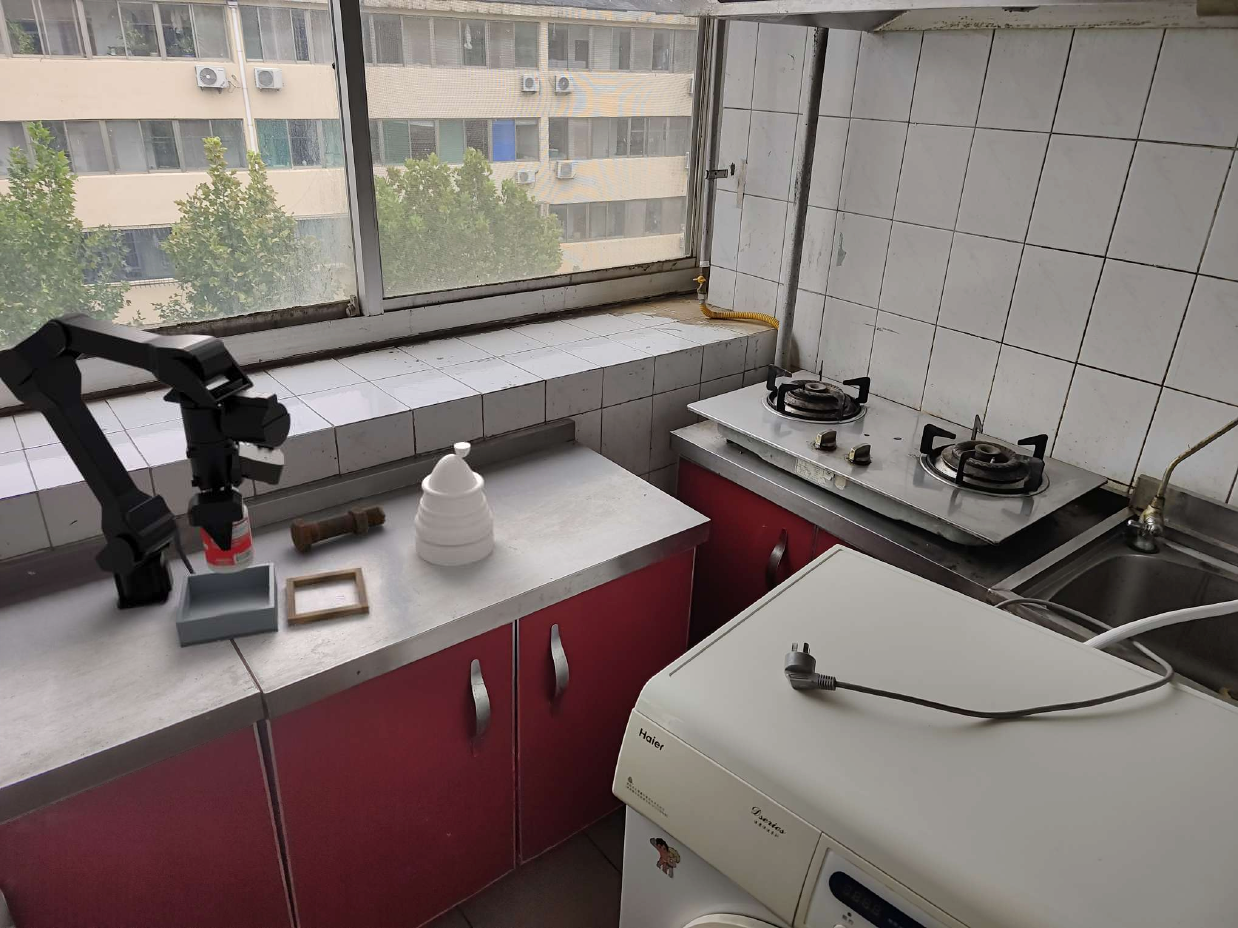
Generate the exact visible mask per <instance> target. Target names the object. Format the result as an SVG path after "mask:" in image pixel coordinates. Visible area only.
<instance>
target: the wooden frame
mask: <svg viewBox="0 0 1238 928" xmlns="http://www.w3.org/2000/svg"><path fill="white" fill-rule="evenodd" d="M353 579H355V580H356V586H357V593H358V599H359V603H357V604H350V605H343V606H337V607H332V608H331V607H330V608H326V609H319V610H313V611H308V612H307V611H306V612H302V613H301V612H300V613H297V612H296V597H295V595H296V593H295V588H300V587H301V588H302V587H307V586H315V585H320V584H321V585H322V584H328V583H333V582H339V581H345V580H353ZM285 582H286V583H285V584H286V586H285V587H286V611H287V612H286V614H287V623H288V627H295V626H300V625H305V624H312V623H318V622H324V621H329V620H330V621H331V620H336V619H340V618H347V617H348V618H349V617H355V616H359V615H366V614H370V608H369V607H370V606H369V602H368V601H369V600H368V596H367V595H368V594H367V591H366V585H365V580H364V574H363V570H362V567H361V566H360V567H355V568H348V569H341V570H340V569H339V570H336V571H335V570H334V571H329V572H322V573H321V572H320V573H315V574H307V575H301V576H296V577H289V578H285Z"/></svg>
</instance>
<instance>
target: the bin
mask: <svg viewBox="0 0 1238 928" xmlns="http://www.w3.org/2000/svg"><path fill="white" fill-rule="evenodd" d="M275 567H276V566H275V563H274V562H266V563H259V564H253V565H252V564H251V565H250V566H248V567H247V568H245V569H244V570H241V571H238V572H234V573H217V572H214V571H212V570H210V571H205V572H198V573H190V574H183V577H182V583H181V588H180V595H179V601H178V605H177V606H178V607H177V613H176V619H175V626H176V630H177V635H178V639H179V644H180V648H186V647H190V646H196V645H203V644H208V643H209V644H210V643H214V642H215V643H216V642H221V641H227V640H232V639H238V638H243V637H250V636H256V635H262V634H268V633H275V632H279V610H278V606H279V605H278V603H279V600H278V582H277V575H276V574H277V573H276V568H275Z"/></svg>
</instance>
